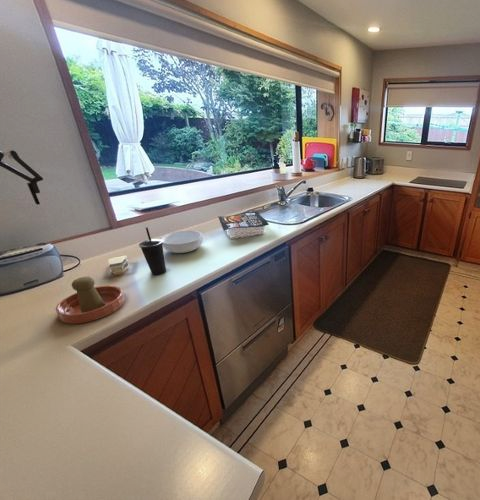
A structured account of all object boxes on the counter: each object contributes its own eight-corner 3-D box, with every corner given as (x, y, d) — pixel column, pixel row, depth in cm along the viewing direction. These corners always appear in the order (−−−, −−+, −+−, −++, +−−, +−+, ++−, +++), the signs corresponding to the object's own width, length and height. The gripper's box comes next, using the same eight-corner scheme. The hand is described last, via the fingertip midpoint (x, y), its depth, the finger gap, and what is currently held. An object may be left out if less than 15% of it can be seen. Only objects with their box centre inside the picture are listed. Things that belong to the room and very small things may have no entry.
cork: (108, 306, 93) (97, 277, 88) (85, 316, 88) (72, 286, 83) (100, 300, 95) (89, 272, 91) (78, 309, 91) (64, 280, 86)
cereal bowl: (167, 261, 124) (163, 246, 121) (161, 248, 135) (158, 234, 132) (208, 252, 134) (206, 238, 131) (200, 240, 145) (197, 227, 142)
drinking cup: (167, 267, 119) (155, 222, 111) (172, 273, 114) (160, 228, 106) (146, 272, 114) (132, 226, 106) (150, 280, 109) (136, 232, 101)
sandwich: (134, 274, 113) (130, 262, 110) (105, 279, 108) (100, 267, 106) (135, 264, 120) (132, 252, 118) (109, 268, 116) (105, 256, 114)
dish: (47, 328, 83) (41, 318, 82) (80, 297, 97) (76, 288, 96) (111, 322, 87) (106, 311, 85) (133, 293, 101) (130, 283, 100)
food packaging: (217, 215, 160) (257, 210, 171) (219, 227, 163) (258, 222, 174) (223, 229, 141) (268, 223, 151) (226, 243, 144) (269, 236, 154)
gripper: (-114, 133, 66) (-63, 219, 75) (37, 133, 84) (64, 202, 93) (-111, 131, 70) (-63, 213, 79) (33, 132, 88) (59, 198, 97)
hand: (6, 207), depth 86 cm, fingers open, 13 cm apart
